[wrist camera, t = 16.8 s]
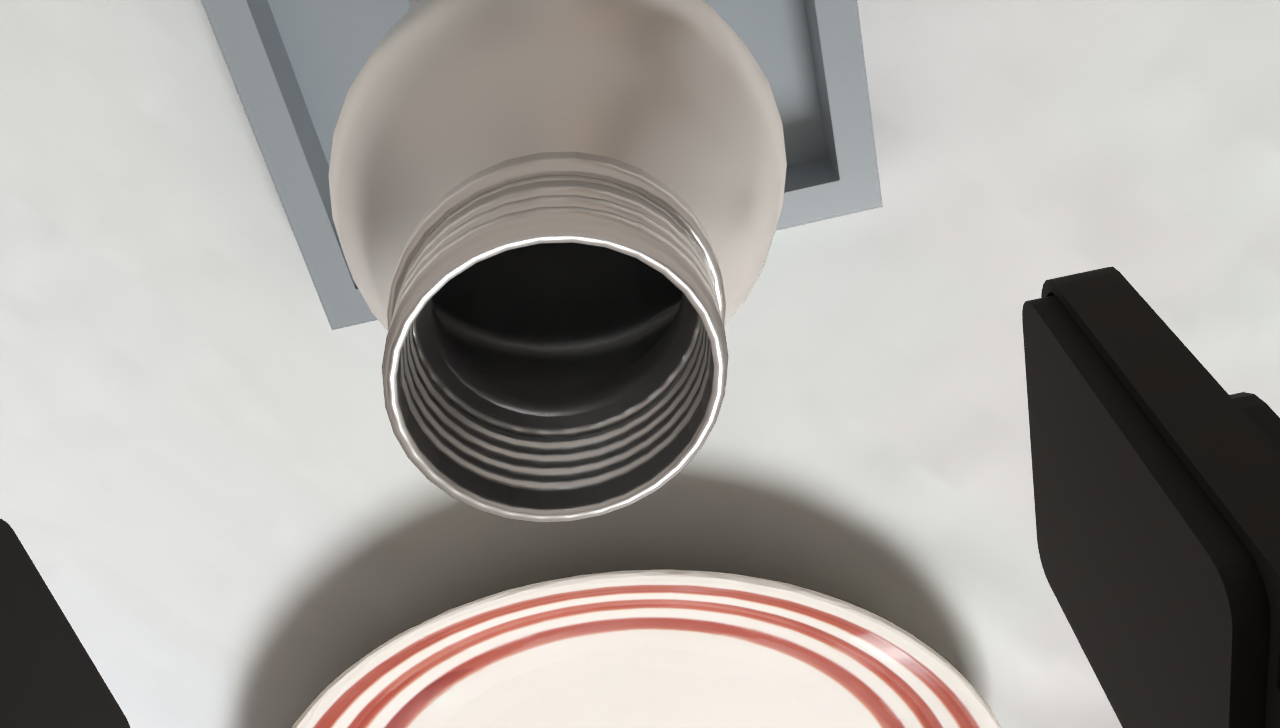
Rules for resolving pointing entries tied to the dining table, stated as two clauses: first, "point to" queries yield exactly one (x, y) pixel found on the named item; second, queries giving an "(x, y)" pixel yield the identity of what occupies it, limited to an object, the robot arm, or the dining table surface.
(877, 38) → the dining table surface
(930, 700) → the dinner plate
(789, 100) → the grey square tray
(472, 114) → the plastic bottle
